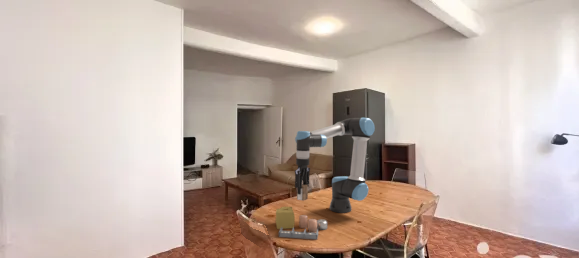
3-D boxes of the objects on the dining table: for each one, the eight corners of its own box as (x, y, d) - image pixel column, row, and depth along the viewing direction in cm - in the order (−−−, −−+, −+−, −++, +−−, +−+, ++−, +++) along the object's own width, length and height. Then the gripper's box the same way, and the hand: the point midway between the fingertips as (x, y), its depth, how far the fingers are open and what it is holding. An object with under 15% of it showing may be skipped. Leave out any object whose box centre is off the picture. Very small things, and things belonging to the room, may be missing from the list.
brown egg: (308, 225, 158) (307, 215, 158) (307, 228, 153) (307, 218, 153) (299, 224, 159) (299, 214, 159) (298, 227, 154) (298, 217, 154)
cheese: (275, 222, 162) (275, 206, 162) (293, 222, 163) (292, 206, 163) (276, 229, 152) (276, 212, 152) (294, 228, 153) (294, 211, 152)
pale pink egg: (317, 229, 152) (317, 219, 151) (316, 233, 147) (316, 222, 146) (308, 228, 152) (308, 218, 152) (307, 232, 147) (307, 221, 147)
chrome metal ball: (327, 226, 156) (327, 219, 156) (327, 230, 150) (327, 223, 150) (317, 225, 157) (317, 219, 157) (316, 229, 151) (316, 222, 151)
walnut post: (300, 197, 154) (301, 184, 154) (307, 198, 152) (307, 185, 152) (296, 199, 150) (296, 185, 150) (303, 200, 148) (303, 186, 148)
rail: (318, 233, 146) (318, 228, 146) (317, 239, 138) (317, 234, 138) (281, 231, 149) (281, 226, 149) (278, 236, 142) (278, 232, 142)
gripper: (304, 156, 160) (304, 194, 160) (288, 158, 146) (288, 201, 146) (315, 157, 156) (315, 196, 156) (300, 160, 141) (299, 203, 142)
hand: (302, 198), depth 151 cm, fingers closed on walnut post, 4 cm apart
